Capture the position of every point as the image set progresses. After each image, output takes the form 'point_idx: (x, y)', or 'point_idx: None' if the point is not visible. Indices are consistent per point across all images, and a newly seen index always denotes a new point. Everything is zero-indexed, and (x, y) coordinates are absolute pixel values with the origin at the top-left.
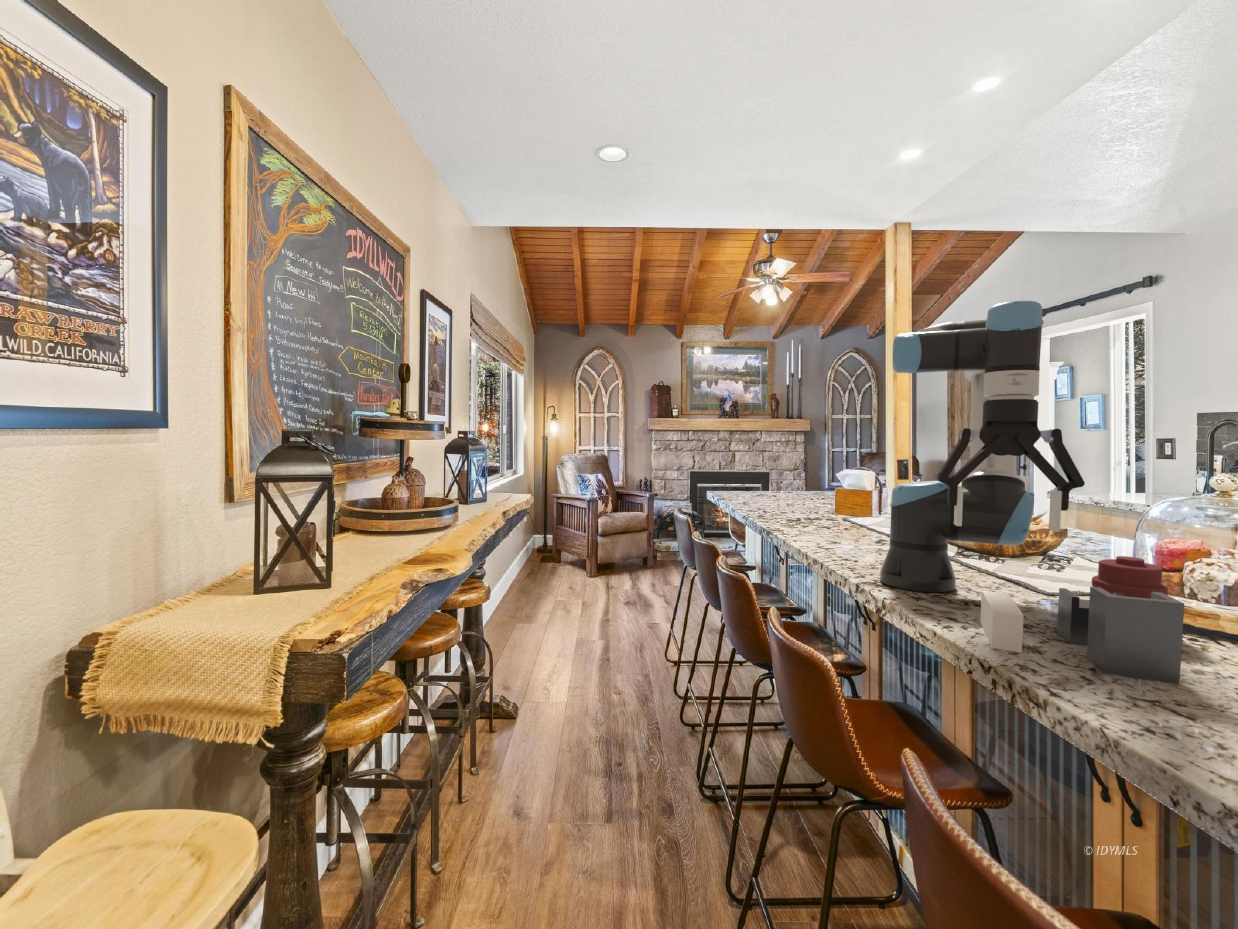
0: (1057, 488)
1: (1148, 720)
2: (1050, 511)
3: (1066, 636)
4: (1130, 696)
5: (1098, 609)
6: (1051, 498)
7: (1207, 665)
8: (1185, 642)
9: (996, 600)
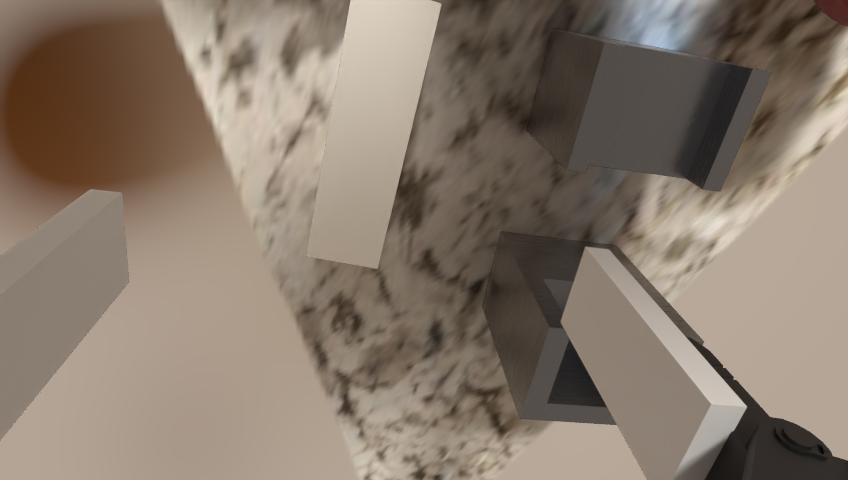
0: (738, 447)
1: (438, 450)
2: (622, 316)
3: (536, 107)
4: (466, 385)
5: (519, 349)
6: (661, 382)
7: (733, 205)
8: (844, 40)
9: (358, 127)
